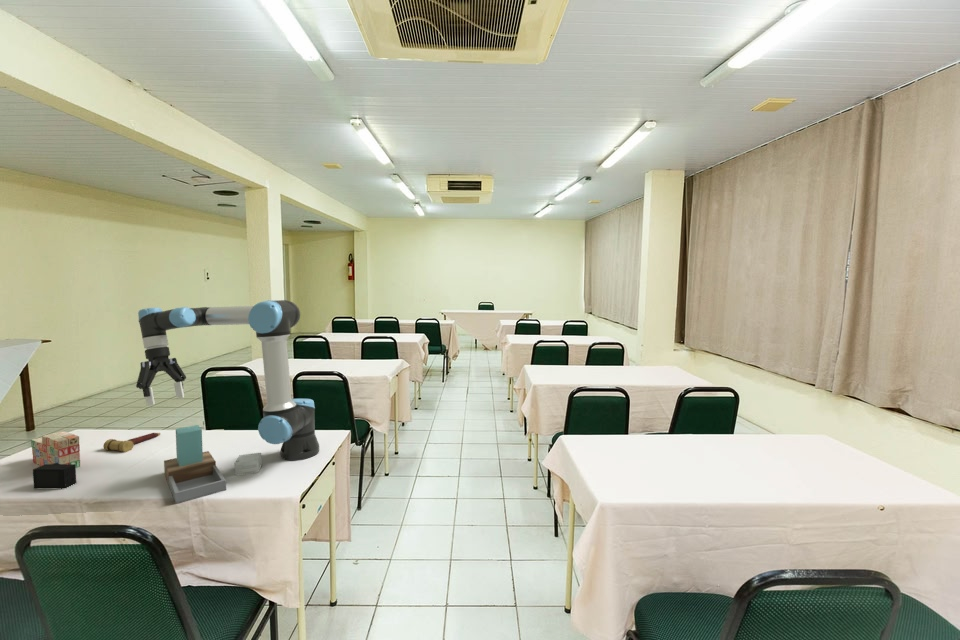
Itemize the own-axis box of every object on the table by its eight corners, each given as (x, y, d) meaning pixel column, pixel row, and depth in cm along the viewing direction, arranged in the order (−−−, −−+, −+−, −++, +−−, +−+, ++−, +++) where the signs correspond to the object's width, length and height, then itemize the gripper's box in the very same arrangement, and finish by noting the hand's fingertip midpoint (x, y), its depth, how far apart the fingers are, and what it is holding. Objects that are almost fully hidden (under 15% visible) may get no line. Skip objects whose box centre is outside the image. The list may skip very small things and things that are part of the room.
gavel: (151, 427, 193) (169, 429, 192) (151, 437, 193) (169, 439, 192) (103, 440, 173) (122, 442, 171) (102, 451, 173) (122, 453, 171)
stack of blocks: (32, 462, 161) (30, 432, 160) (53, 457, 166) (52, 427, 166) (59, 473, 152) (57, 441, 151) (81, 467, 158) (79, 435, 157)
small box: (261, 464, 162) (261, 452, 162) (258, 473, 155) (257, 460, 154) (239, 467, 160) (239, 454, 159) (234, 476, 152) (234, 462, 152)
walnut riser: (164, 473, 153) (164, 460, 152) (209, 463, 162) (208, 451, 162) (169, 486, 143) (168, 472, 143) (216, 474, 153) (215, 461, 152)
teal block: (176, 460, 152) (175, 429, 152) (199, 455, 157) (198, 424, 156) (179, 466, 147) (178, 434, 147) (202, 461, 152) (201, 429, 151)
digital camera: (80, 481, 146) (79, 462, 145) (65, 489, 140) (64, 469, 140) (50, 481, 146) (49, 462, 145) (34, 489, 140) (32, 469, 140)
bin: (169, 486, 143) (168, 476, 143) (216, 474, 153) (215, 465, 152) (175, 504, 132) (175, 493, 131) (226, 490, 141) (225, 480, 141)
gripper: (174, 347, 173) (183, 396, 173) (117, 352, 148) (127, 410, 148) (190, 343, 172) (199, 393, 172) (135, 348, 147) (146, 406, 147)
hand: (166, 401), depth 160 cm, fingers open, 13 cm apart
